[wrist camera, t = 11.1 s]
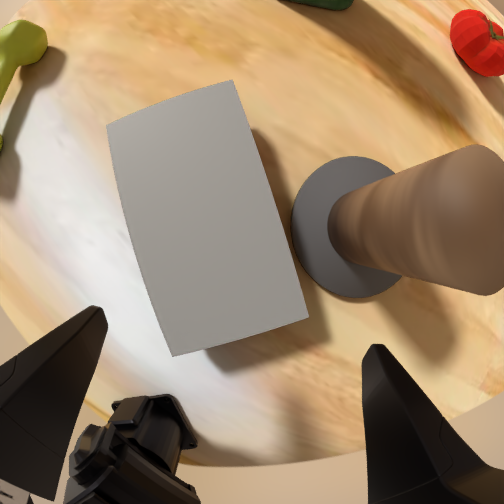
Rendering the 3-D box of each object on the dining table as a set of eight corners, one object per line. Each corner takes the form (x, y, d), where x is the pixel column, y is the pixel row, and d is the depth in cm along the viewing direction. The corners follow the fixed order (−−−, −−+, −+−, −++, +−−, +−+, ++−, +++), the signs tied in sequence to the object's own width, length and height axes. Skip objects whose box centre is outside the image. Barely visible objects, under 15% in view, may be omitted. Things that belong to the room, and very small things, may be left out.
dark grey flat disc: (424, 270, 22) (429, 271, 21) (313, 315, 21) (315, 317, 21) (391, 148, 21) (395, 146, 20) (271, 177, 21) (272, 175, 20)
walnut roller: (398, 251, 21) (529, 266, 8) (338, 273, 20) (455, 320, 7) (380, 183, 20) (504, 139, 7) (317, 201, 20) (422, 153, 7)
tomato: (497, 82, 21) (529, 65, 13) (468, 85, 21) (506, 62, 13) (462, 28, 20) (488, 6, 13) (428, 25, 20) (456, -5, 13)
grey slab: (296, 301, 21) (309, 317, 17) (185, 334, 21) (172, 357, 17) (234, 107, 20) (232, 79, 16) (128, 143, 20) (106, 125, 16)
